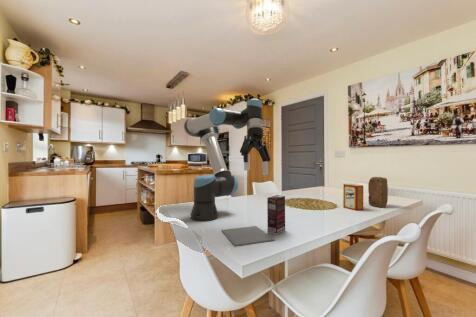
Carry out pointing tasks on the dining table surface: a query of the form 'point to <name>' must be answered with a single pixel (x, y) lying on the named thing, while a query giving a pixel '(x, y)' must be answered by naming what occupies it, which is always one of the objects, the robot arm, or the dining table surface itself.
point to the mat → (247, 235)
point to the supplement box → (276, 214)
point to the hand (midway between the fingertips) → (256, 172)
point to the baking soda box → (353, 197)
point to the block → (378, 191)
